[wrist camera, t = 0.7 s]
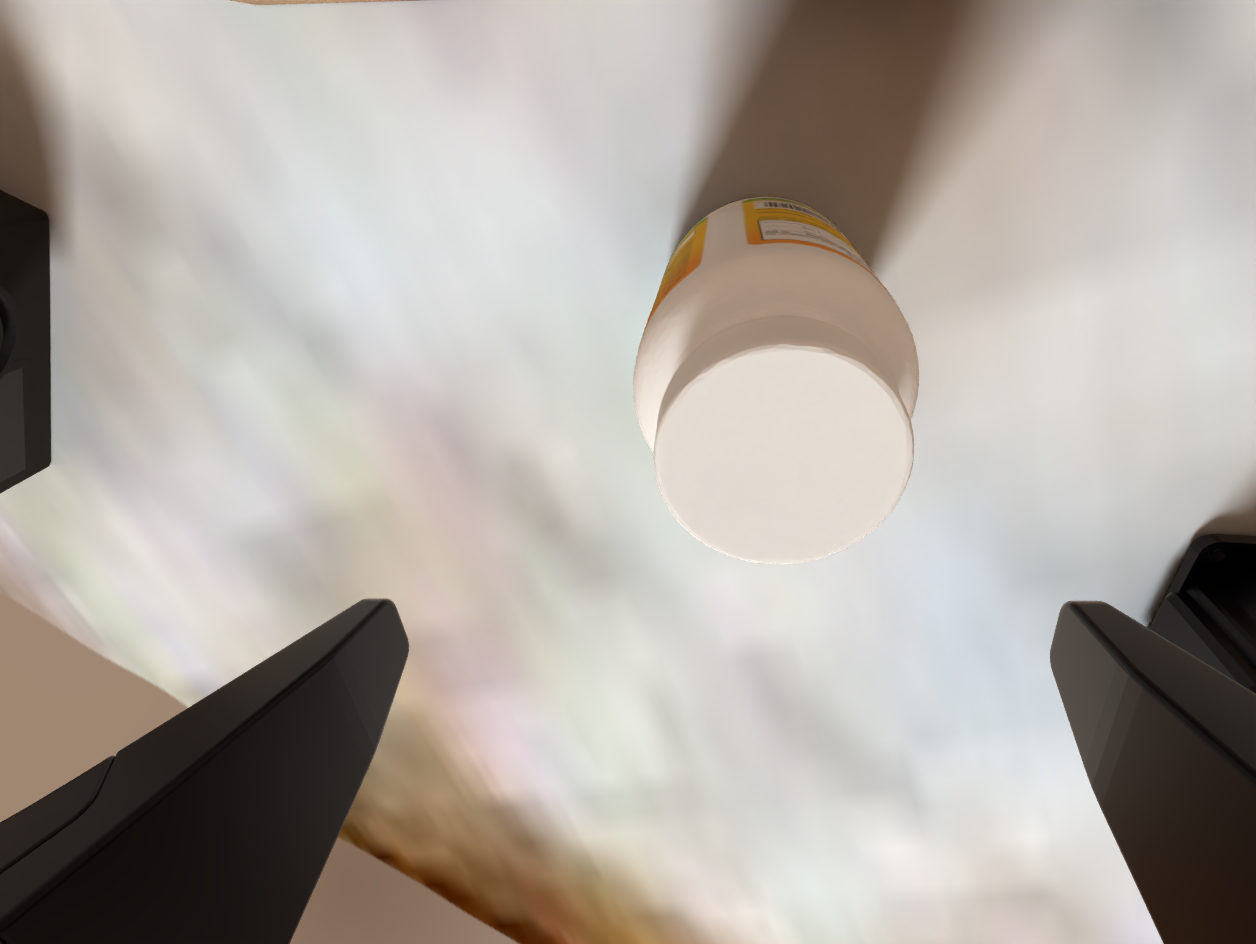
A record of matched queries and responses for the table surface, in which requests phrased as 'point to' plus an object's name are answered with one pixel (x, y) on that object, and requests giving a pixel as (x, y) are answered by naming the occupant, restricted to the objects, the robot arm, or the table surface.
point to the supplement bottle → (776, 386)
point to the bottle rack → (305, 1)
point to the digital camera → (23, 341)
